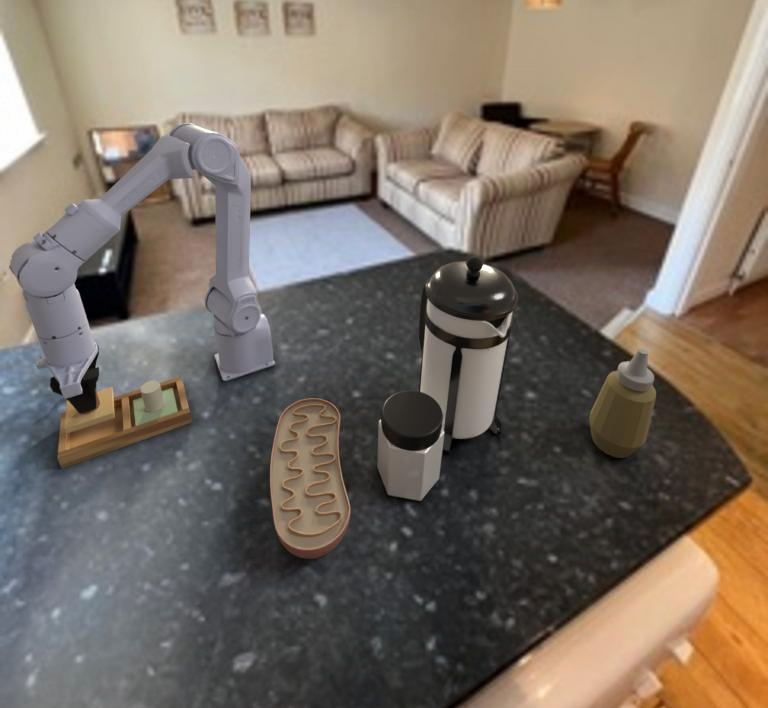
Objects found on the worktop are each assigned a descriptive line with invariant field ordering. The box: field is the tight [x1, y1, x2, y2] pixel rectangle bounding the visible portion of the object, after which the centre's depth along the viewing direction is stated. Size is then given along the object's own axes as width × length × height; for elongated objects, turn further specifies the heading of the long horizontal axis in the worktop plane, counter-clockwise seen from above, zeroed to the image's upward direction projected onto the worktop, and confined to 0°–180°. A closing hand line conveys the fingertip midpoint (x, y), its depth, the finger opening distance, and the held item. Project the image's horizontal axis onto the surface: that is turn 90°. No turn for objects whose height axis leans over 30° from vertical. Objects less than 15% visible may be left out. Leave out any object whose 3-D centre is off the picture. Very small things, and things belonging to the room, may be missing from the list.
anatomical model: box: [269, 397, 352, 560], centre depth 61 cm, size 23×10×5 cm, turn 10°
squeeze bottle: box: [588, 348, 657, 459], centre depth 66 cm, size 8×8×18 cm
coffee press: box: [418, 255, 519, 455], centre depth 68 cm, size 17×16×30 cm
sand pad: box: [64, 386, 115, 434], centre depth 66 cm, size 6×6×5 cm
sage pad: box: [133, 380, 178, 426], centre depth 71 cm, size 6×6×5 cm
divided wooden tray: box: [56, 376, 193, 470], centre depth 70 cm, size 9×17×2 cm, turn 120°
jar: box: [376, 389, 444, 502], centre depth 62 cm, size 9×8×12 cm
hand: (88, 401), depth 66 cm, fingers closed on sand pad, 3 cm apart
